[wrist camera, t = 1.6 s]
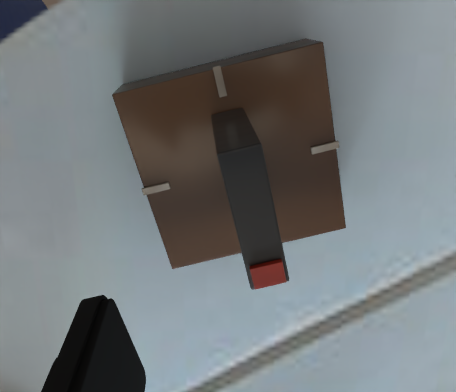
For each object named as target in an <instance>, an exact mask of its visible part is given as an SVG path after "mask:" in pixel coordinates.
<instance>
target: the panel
mask: <svg viewBox="0 0 456 392" xmlns="http://www.w3.org/2000/svg"><path fill="white" fill-rule="evenodd" d="M112 96H113V99H114V102H115V105H116V108H117V111H118V113H119V116H120V119H121V122H122V125H123V128H124V131H125V134H126V137H127V139H128V142H129V145H130V148H131V151H132V154H133V157H134V160H135V163H136V165H137V168H138V171H139V174H140V177H141V180H142V183H143V186H144V188H142V191H143V194H144V195H147V197H148V200H149V203H150V206H151V209H152V212H153V214H154V217H155V220H156V223H157V226H158V229H159V232H160V235H161V238H162V240H163V243H164V246H165V249H166V252H167V255H168V258H169V261H170V264H171V266H172V269H175V268H179V267H184V266H188V265H192V264H196V263H200V262H205V261H209V260H213V259H217V258H221V257H226V256H230V255H234V254H238V253H242V252H241V248H240V244H239V240H238V236H237V232H236V228H235V224H234V220H233V216H232V213H231V209H230V205H229V201H228V197H227V193H226V189H225V185H224V181H223V177H222V173H221V169H220V165H219V161H218V158H217V152H216V146H215V140H214V133H213V127H212V121H211V115H213V114H217V113H221V112H225V111H229V110H234V109H238V108H243V109H244V111H245V113H246V115H247V117H248V119H249V121H250V123H251V124H252V126H253V128H254V130H255V132H256V134H257V136H258V138H259V140H260V142H261V144H262V148H263V153H264V157H265V162H266V167H267V172H268V177H269V182H270V187H271V192H272V197H273V202H274V207H275V212H276V217H277V222H278V226H279V231H280V236H281V241H282V243H284V242H289V241H293V240H297V239H301V238H306V237H310V236H314V235H318V234H322V233H327V232H331V231H335V230H339V229H343V228H346V225H345V217H344V209H343V201H342V193H341V184H340V176H339V168H338V160H337V152H336V149H337V148H339V143H338V141H335V136H334V128H333V119H332V111H331V103H330V95H329V87H328V79H327V71H326V63H325V54H324V46H323V42H320V41H316V40H311V39H302V40H298V41H294V42H290V43H286V44H282V45H278V46H274V47H270V48H266V49H262V50H258V51H254V52H250V53H246V54H242V55H238V56H234V57H230V58H226V59H222V60H218V61H214V62H210V63H206V64H202V65H198V66H194V67H190V68H186V69H182V70H178V71H174V72H170V73H166V74H162V75H158V76H154V77H150V78H146V79H142V80H138V81H134V82H130V83H126V84H123V85H122V86H121V87H120V88H119V89H118V90H117V91H115V92H114V93H113V94H112Z"/></svg>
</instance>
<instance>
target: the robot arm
mask: <svg viewBox="0 0 456 392" xmlns="http://www.w3.org/2000/svg"><path fill="white" fill-rule="evenodd" d="M145 385H146V375H145V370H144V367H143V365H142V363H141V361H140V358H139V356H138V354H137V351H136V349H135V347H134V345H133V342H132V340H131V338H130V335H129V333H128V331H127V329H126V326H125V324H124V322H123V320H122V317H121V315H120V313H119V310H118V308H117V306H116V304H115V302H114V300H113V299H107V297H106V296H104V295H101V296H96V297H92V298H88V299H84V300H82V301H81V303H80V305H79V307H78V310H77V312H76V314H75V317H74V319H73V322H72V324H71V326H70V329H69V331H68V333H67V336H66V338H65V341H64V343H63V345H62V348H61V350H60V353H59V355H58V357H57V358H56V359H55V361H54V363H53V365H52V367H51V369H50V372H49V374H48V377H47V379H46V381H45V384H44V386H43V388H42V391H41V392H144V391H145Z"/></svg>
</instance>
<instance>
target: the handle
mask: <svg viewBox="0 0 456 392" xmlns="http://www.w3.org/2000/svg"><path fill="white" fill-rule="evenodd" d="M211 121H212V127H213V133H214V140H215V146H216V152H217V158H218V161H219V165H220V169H221V173H222V177H223V181H224V185H225V189H226V193H227V197H228V201H229V205H230V209H231V213H232V216H233V220H234V224H235V228H236V232H237V236H238V240H239V244H240V248H241V252H242V256H243V260H244V264H245V268H246V271H247V275H248V279H249V283H250V287H251V289H253V290H254V289H260V288H264V287H268V286H272V285H277V284H281V283H285V282H288V281H289V276H288V271H287V266H286V261H285V256H284V251H283V246H282V241H281V236H280V231H279V226H278V222H277V217H276V212H275V207H274V202H273V197H272V192H271V187H270V182H269V177H268V172H267V167H266V162H265V157H264V153H263V148H262V144H261V142H260V140H259V138H258V136H257V134H256V132H255V130H254V128H253V126H252V124H251V123H250V121H249V119H248V117H247V115H246V113H245V111H244V109H243V108H238V109H234V110H229V111H225V112H221V113H217V114H213V115H211Z"/></svg>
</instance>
